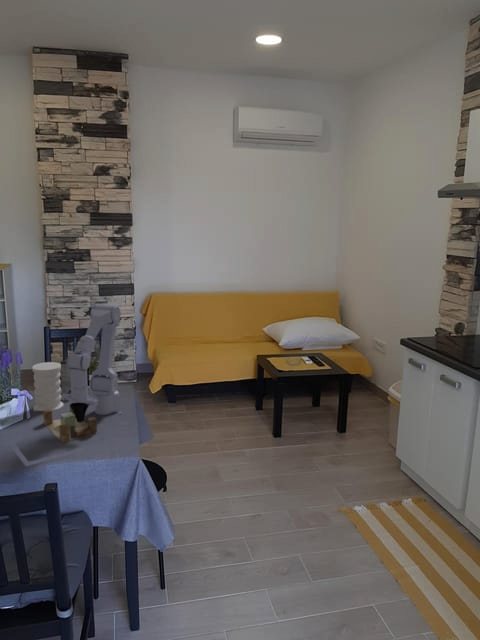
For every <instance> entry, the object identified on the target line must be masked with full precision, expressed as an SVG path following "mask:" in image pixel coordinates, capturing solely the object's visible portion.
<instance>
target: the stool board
mask: <svg viewBox="0 0 480 640" xmlns="http://www.w3.org/2000/svg"><path fill="white" fill-rule="evenodd" d="M42 412H43V414H42V415H43V423H42V424H43V425H44V426H45V427H46V428H47V429H48V430H49V431H50V432H51V433H52V434H53V435H54V436H55V438H57V439H58V440H59V442H61V443H65V442H69V441H73V440H77V439H81V438H85V437H88V436H89V437H90V436H92V435H97V434H98V431H97V432H95V433H91V434H87V435H83V436H79V437H77V436H76V435H75V430H79V429H83V428H87V427H88V422H87V423H86V422H85V420H84V421H82V422H81V423H80V422H77V419H76V416H75V426H71V427H69V426H68V425H67V424H65V425H61V418H58V419H55V420H53V410H52V411H51V410H50V409H47V410H43V411H42ZM69 412H72V413H73V414H74V412H73V410H72V408H71V407H70V406H69ZM74 415H75V414H74Z"/></svg>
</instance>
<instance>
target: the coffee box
mask: <svg viewBox="0 0 480 640" xmlns="http://www.w3.org/2000/svg"><path fill="white" fill-rule="evenodd" d="M66 362H67V358H65V359H63V360H61V361H60V364H61V369H60V374H61V375H60V378H61V379H60V381H61V396H62V395H63V394H71V379H70V374H69V370H68V368H67V365H66Z"/></svg>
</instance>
